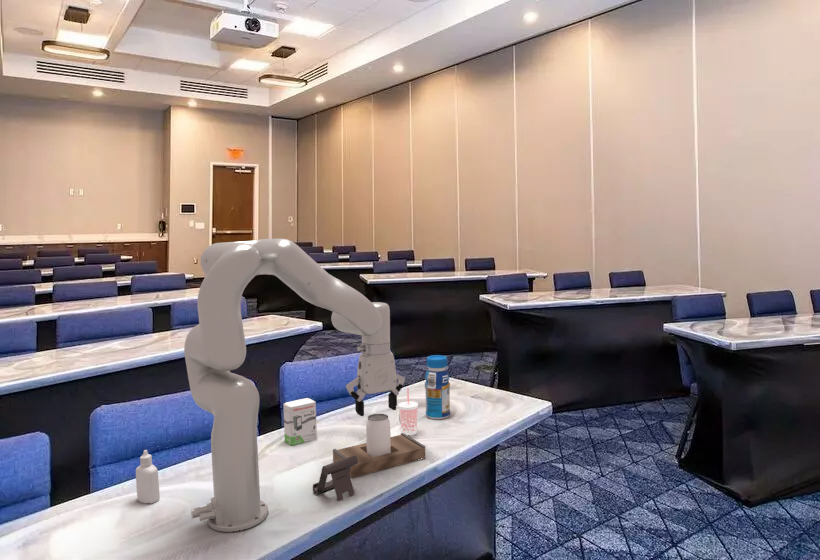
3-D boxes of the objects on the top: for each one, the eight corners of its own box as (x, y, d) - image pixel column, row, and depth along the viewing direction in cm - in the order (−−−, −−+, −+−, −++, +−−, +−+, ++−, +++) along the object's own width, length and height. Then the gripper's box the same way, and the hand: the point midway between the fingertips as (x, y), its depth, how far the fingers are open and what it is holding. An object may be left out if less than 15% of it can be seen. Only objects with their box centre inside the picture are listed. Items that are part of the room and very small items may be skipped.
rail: (351, 478, 138) (351, 465, 138) (333, 461, 148) (332, 449, 148) (425, 458, 149) (425, 446, 149) (403, 444, 159) (403, 432, 159)
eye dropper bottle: (156, 492, 132) (153, 444, 131) (160, 501, 128) (157, 452, 127) (136, 497, 130) (133, 448, 129) (140, 507, 125) (136, 456, 124)
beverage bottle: (421, 413, 186) (420, 355, 184) (445, 410, 189) (444, 353, 187) (430, 421, 178) (429, 361, 176) (454, 418, 181) (453, 358, 179)
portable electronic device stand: (343, 481, 136) (342, 448, 136) (362, 491, 131) (361, 458, 130) (312, 493, 131) (311, 459, 130) (331, 504, 125) (329, 469, 124)
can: (369, 466, 145) (368, 422, 144) (365, 457, 151) (363, 414, 150) (393, 463, 146) (392, 419, 145) (388, 454, 153) (386, 412, 152)
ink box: (291, 446, 160) (289, 406, 159) (284, 441, 164) (282, 402, 163) (317, 439, 165) (316, 400, 164) (310, 434, 169) (308, 397, 168)
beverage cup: (422, 434, 167) (421, 389, 166) (403, 437, 164) (402, 392, 163) (414, 428, 172) (413, 384, 171) (396, 431, 170) (395, 387, 169)
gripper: (352, 354, 138) (353, 421, 140) (411, 347, 147) (411, 410, 148) (340, 349, 145) (341, 413, 146) (397, 343, 154) (397, 403, 155)
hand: (376, 411), depth 147 cm, fingers open, 9 cm apart
